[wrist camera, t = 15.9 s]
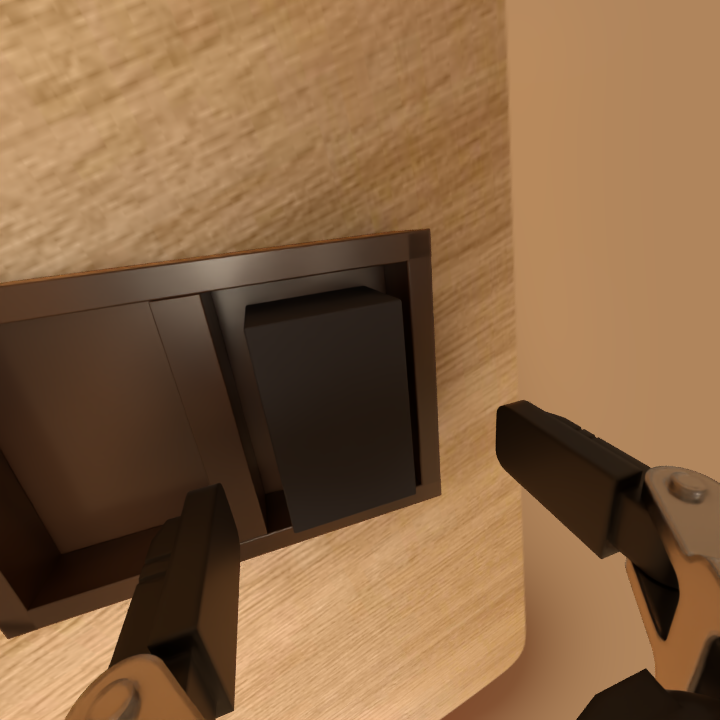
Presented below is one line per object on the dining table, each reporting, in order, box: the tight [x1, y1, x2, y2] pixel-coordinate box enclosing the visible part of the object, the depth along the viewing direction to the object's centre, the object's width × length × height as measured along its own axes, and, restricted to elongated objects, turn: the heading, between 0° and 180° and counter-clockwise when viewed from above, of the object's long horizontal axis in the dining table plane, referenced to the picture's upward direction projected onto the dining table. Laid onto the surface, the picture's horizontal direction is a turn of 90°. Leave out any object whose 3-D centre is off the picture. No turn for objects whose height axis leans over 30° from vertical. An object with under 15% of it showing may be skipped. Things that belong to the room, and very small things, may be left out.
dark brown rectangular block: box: [244, 286, 416, 533], centre depth 14 cm, size 5×8×4 cm, turn 7°
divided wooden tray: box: [0, 229, 441, 639], centre depth 14 cm, size 18×12×4 cm
